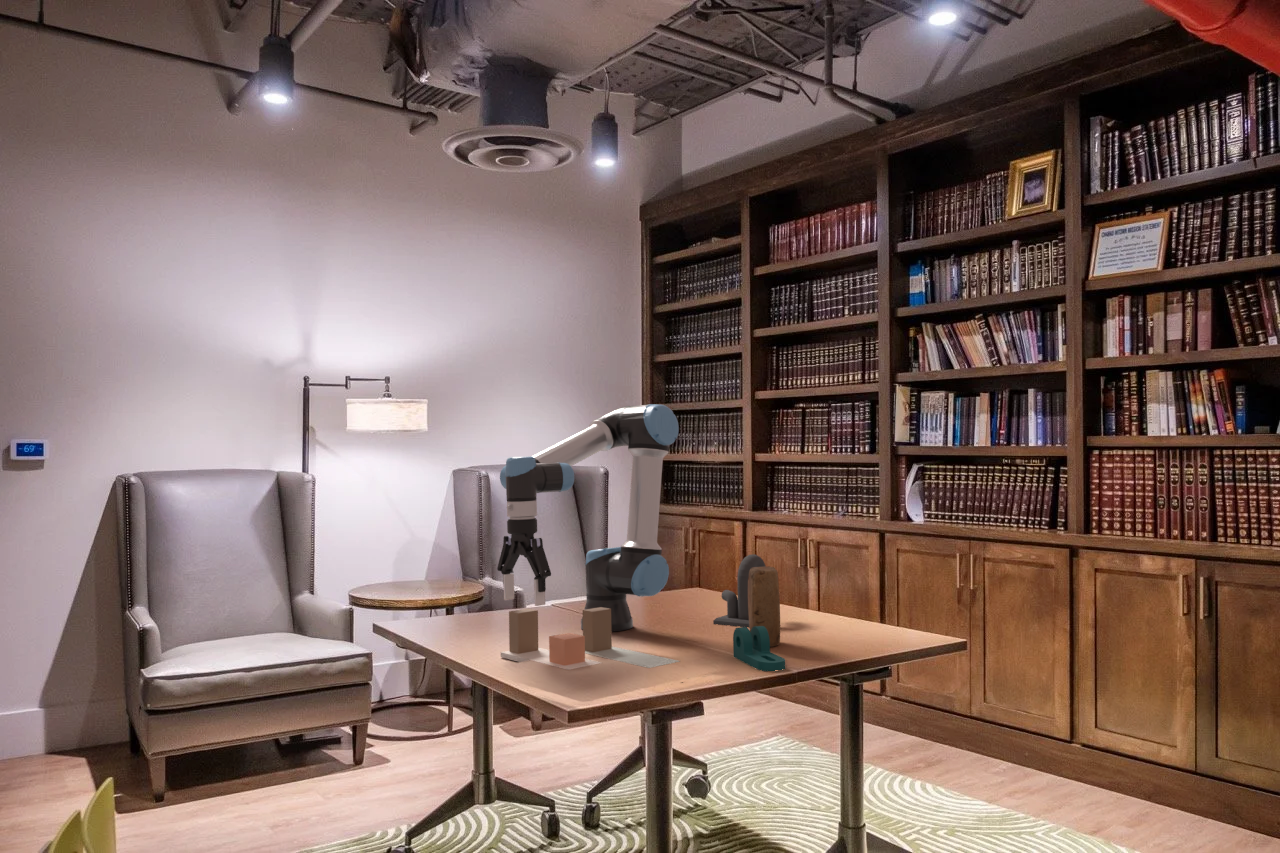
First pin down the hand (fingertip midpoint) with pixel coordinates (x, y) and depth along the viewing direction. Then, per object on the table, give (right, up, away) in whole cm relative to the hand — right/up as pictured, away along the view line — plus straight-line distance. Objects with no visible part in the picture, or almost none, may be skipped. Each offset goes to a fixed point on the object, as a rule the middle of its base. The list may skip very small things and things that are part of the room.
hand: (524, 602), depth 242 cm
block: (+62, -13, +10) cm, 64 cm away
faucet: (+62, -14, +42) cm, 76 cm away
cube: (+12, -11, -14) cm, 22 cm away
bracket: (+58, -13, -13) cm, 61 cm away
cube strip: (+7, -13, -9) cm, 17 cm away
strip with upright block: (+26, -13, -9) cm, 30 cm away
